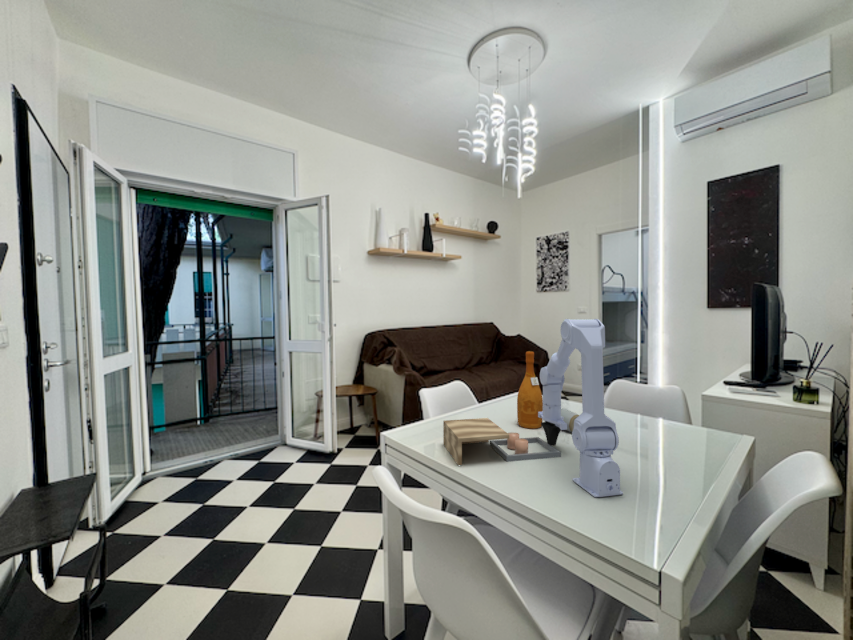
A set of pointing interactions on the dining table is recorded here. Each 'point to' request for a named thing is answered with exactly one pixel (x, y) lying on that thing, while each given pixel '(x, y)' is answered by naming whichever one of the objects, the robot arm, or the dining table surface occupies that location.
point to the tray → (527, 456)
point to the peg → (512, 440)
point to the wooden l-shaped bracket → (469, 434)
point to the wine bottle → (529, 397)
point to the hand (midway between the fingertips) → (551, 444)
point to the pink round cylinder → (521, 446)
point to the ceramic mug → (569, 418)
